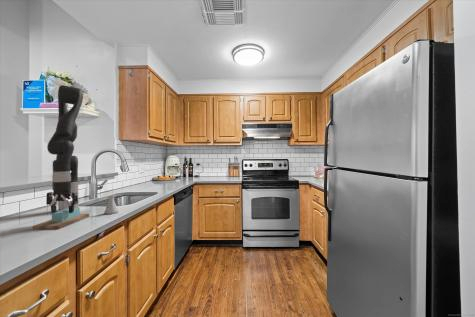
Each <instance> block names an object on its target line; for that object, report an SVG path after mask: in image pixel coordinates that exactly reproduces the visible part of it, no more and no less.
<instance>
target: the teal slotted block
mask: <svg viewBox="0 0 475 317" xmlns="http://www.w3.org/2000/svg"><path fill="white" fill-rule="evenodd" d="M80 214H81V210H80V207H78V208H74V212H73V213H69V208H68V209H65V210H62V211H57V212H55V213H52V212H51V220H52V222H63V221H66V220H68V219H71V218H74V217H76V216H79V215H80Z"/></svg>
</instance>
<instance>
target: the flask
mask: <svg viewBox="0 0 475 317" xmlns="http://www.w3.org/2000/svg"><path fill="white" fill-rule="evenodd" d="M107 197H108V198H107V199H108V200H107V204H106V207H105V210H104V212H103V213H104V214H105V215H113V214H117V213H119V209H118V207H117V204H116V201H115V195H113V194H111V195H108V196H107Z"/></svg>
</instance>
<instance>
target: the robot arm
mask: <svg viewBox="0 0 475 317" xmlns="http://www.w3.org/2000/svg"><path fill="white" fill-rule="evenodd" d="M83 101H84V92H83V90H82V89H81V88H79V87H74V86H70V85H69V86H68V85H63V84H61V85H59V87H58V90H57V104H58V105H57V106H58V107H57V108H58V117H57V124H56V128H55V132H54V133H53V135H52V136H51V138H50V139H49V141H48V143H47V151H48V153H49V154H51V155H53V156H56V158H55V159H54V160H52V176H51V177H52V191H50V192H49V191H48V192H47V193H46V203H45V204H46V205H49V206H50V212H51V214H52V213H55V212H59V211H62V210H65V209H68V208H69V213H73V212H74V208H79V183H78V182H79V177H78V172H79V171H78V170H79V158H78V156H77V155H73V153H74V150H75V145H74V142H75V141H76V139H77V137H78V125H77V123H76V121H77V120H76V119H77V118H78V115H79V112H80V110H81V107H82V104H83ZM67 104H69V105H72V107H71V108H70V109H69V110H68V108H67ZM57 207H58V208H57Z"/></svg>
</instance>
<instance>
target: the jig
mask: <svg viewBox="0 0 475 317" xmlns="http://www.w3.org/2000/svg"><path fill="white" fill-rule="evenodd" d="M89 217H90V213H80V215H79V216H76V217H74V218H71V219H68V220H66V221H63V222H52V219H50V220H46V221H44V222H41V223H40V222H39V223H38V224H34V225H32V230H60V229H64V228H65V227H67V226H70V225H72V224H74V223H77V222H80V221H82V220H84V219H87V218H89Z"/></svg>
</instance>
